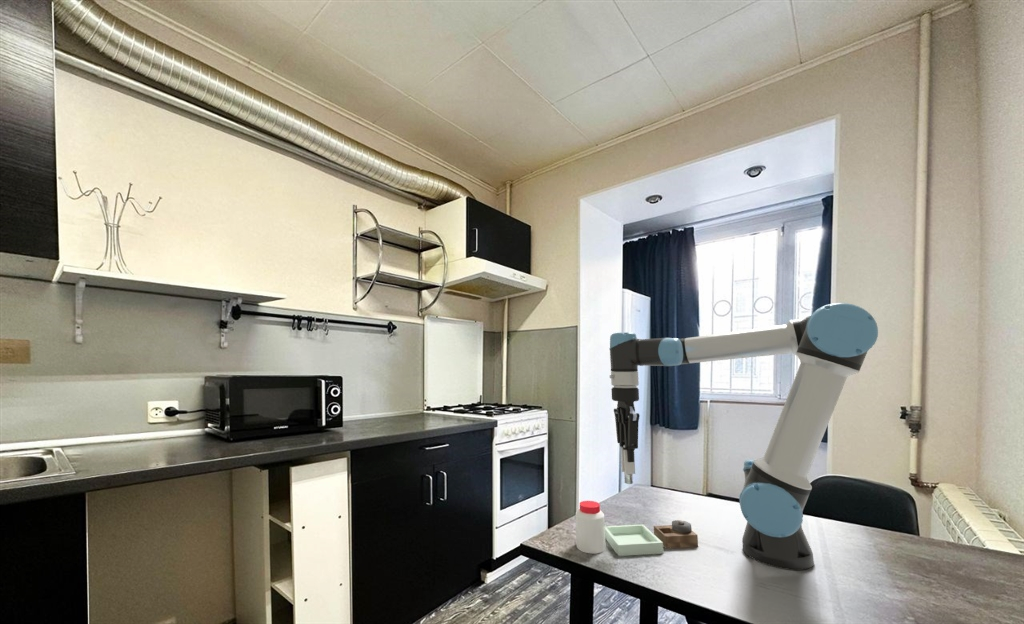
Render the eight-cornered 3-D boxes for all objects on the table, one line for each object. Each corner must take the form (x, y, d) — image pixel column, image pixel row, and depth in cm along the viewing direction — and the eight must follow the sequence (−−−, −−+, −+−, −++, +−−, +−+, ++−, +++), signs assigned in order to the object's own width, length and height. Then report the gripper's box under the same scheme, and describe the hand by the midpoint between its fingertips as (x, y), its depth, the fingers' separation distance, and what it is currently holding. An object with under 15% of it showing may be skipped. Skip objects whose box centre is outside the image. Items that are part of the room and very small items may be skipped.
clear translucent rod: (633, 482, 111) (631, 445, 113) (632, 484, 110) (630, 446, 111) (625, 481, 112) (623, 444, 114) (623, 483, 110) (622, 445, 112)
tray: (643, 533, 115) (643, 524, 116) (663, 553, 103) (662, 542, 104) (603, 536, 114) (603, 526, 114) (618, 556, 102) (618, 545, 103)
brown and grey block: (684, 535, 114) (683, 516, 115) (698, 546, 107) (696, 526, 108) (654, 537, 113) (653, 517, 114) (666, 548, 106) (664, 527, 107)
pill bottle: (598, 556, 102) (596, 511, 104) (571, 548, 107) (570, 505, 108) (610, 545, 108) (608, 502, 110) (584, 538, 113) (583, 497, 114)
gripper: (603, 385, 121) (606, 466, 118) (621, 388, 107) (625, 480, 104) (627, 385, 122) (631, 465, 119) (648, 388, 107) (653, 479, 104)
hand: (628, 472), depth 111 cm, fingers closed on clear translucent rod, 2 cm apart
